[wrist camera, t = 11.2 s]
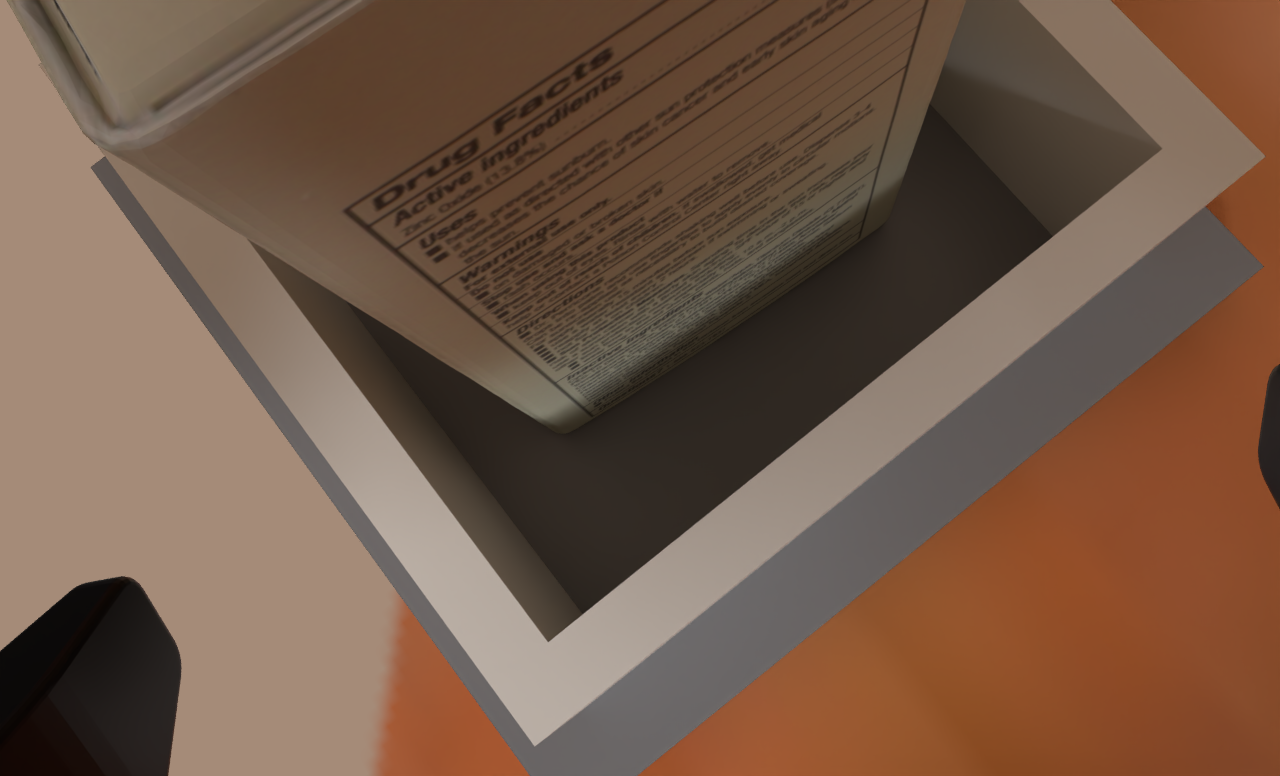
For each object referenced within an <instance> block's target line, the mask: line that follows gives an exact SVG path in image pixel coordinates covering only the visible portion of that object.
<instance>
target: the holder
mask: <svg viewBox="0 0 1280 776" xmlns="http://www.w3.org/2000/svg"><path fill="white" fill-rule="evenodd" d="M39 66H40V67H41V69H42V70H43V71H44V73H45V74H46V76H47V77H48V78H49V80H50V81H51V82H52V80H51V78H50V77H49V75H48V73H47V71H46V69H45V67H44V66H43V64H42V63H40V64H39ZM52 83H53V82H52ZM53 85H54V84H53ZM54 87H55V86H54ZM55 88H56V87H55ZM97 146H98V145H97ZM98 147H99V146H98ZM99 148H100V150H101V151H102V153H103V154H104V155H105V157H103V158H102V159H101V160H100V161H98V162H97V163H96V164H95V165H93V166H92V167H91V169H92V170H93V171H94V173H95V174H96V175H97V177H98V178H99V180H100V181H101V182H102V184H103V185H104V187H105V188H106V189H107V191H108V192H109V194H110V195H111V196H112V198H113V199H114V200H115V202H116V203H117V205H118V206H119V207H120V209H121V210H122V211H123V213H124V214H125V216H126V217H127V218H128V220H129V221H130V223H131V224H132V225H133V227H134V228H135V229H136V231H137V232H138V234H139V235H140V236H141V238H142V239H143V241H144V242H145V243H146V245H147V246H148V247H149V249H150V250H151V252H152V253H153V254H154V256H155V257H156V259H157V260H158V261H159V263H160V264H161V266H162V267H163V268H164V270H165V271H166V272H167V274H168V275H169V277H170V278H171V279H172V281H173V282H174V283H175V285H176V286H177V288H178V289H179V290H180V292H181V293H182V295H183V296H184V297H185V299H186V300H187V302H188V303H189V304H190V306H191V307H192V308H193V310H194V311H195V313H196V314H197V315H198V317H199V318H200V319H201V321H202V322H203V324H204V325H205V326H206V328H207V329H208V331H209V332H210V333H211V335H212V336H213V337H214V339H215V340H216V341H217V343H218V344H219V346H220V347H221V348H222V350H223V351H224V352H225V354H226V355H227V357H228V358H229V360H230V361H231V362H232V364H233V365H234V367H235V368H236V369H237V371H238V372H239V374H241V376H242V378H243V379H244V380H245V382H246V383H247V385H248V386H249V387H250V389H251V390H252V391H253V393H254V394H255V396H256V397H257V398H258V400H259V401H260V403H261V404H262V405H263V407H264V408H265V409H266V411H267V412H268V414H269V415H270V416H271V418H272V419H273V420H274V422H275V423H276V425H277V426H278V427H279V429H280V430H281V432H282V433H283V434H284V436H285V437H286V438H287V440H288V441H289V443H290V444H291V445H292V447H293V448H294V450H295V451H296V452H297V454H298V455H299V457H300V458H301V459H302V461H303V462H304V463H305V465H306V466H307V468H308V469H309V470H310V472H311V473H312V474H313V476H314V477H315V479H316V480H317V481H318V483H319V484H320V486H321V487H322V488H323V490H324V491H325V492H326V494H327V495H328V497H329V498H330V499H331V501H332V502H333V503H334V505H335V506H336V508H337V509H338V511H339V512H340V513H341V515H342V516H343V517H344V519H345V520H346V522H347V523H348V524H349V526H350V527H351V528H352V530H353V531H354V532H355V534H356V535H357V537H358V538H359V540H360V541H361V542H362V544H363V545H364V547H365V548H366V549H367V551H368V552H369V553H370V555H371V556H372V558H373V559H374V560H375V562H376V563H377V564H378V566H379V567H380V569H381V570H382V571H383V573H384V574H385V576H386V577H387V578H388V580H389V581H390V583H391V584H392V585H393V587H394V588H395V589H396V591H397V592H398V594H399V595H400V596H401V598H402V599H403V601H404V602H405V603H406V605H407V606H408V607H409V609H410V610H411V612H412V613H413V614H414V616H415V617H416V618H417V620H418V621H419V623H420V624H421V625H422V627H423V628H424V630H425V631H426V632H427V634H428V635H429V636H430V638H431V639H432V641H433V642H434V643H435V645H436V646H437V648H438V649H439V650H440V652H441V653H442V654H443V656H444V657H445V659H446V660H447V661H448V663H449V664H450V666H451V667H452V668H453V670H454V671H455V672H456V674H457V675H458V677H459V678H460V679H461V681H462V682H463V684H464V685H465V686H466V688H467V689H468V690H469V692H470V693H471V695H472V696H473V697H474V699H475V700H476V702H477V703H478V704H479V706H480V707H481V708H482V710H483V711H484V713H485V714H486V715H487V717H488V718H489V720H490V721H491V722H492V724H493V725H494V726H495V728H496V729H497V731H498V732H499V733H500V735H501V736H502V738H503V739H504V740H505V742H506V743H507V744H508V746H509V747H510V749H511V750H512V751H513V753H514V754H515V756H516V757H517V758H518V760H519V761H520V762H521V764H522V765H523V767H524V768H525V769H526V771H527V772H528V774H529V775H530V776H637V775H638V774H640V773H641V772H642V771H643V770H645V769H646V768H647V767H648V766H650V765H651V764H652V763H653V762H654V761H656V760H657V759H658V758H659V757H661V756H662V755H663V754H664V753H666V752H667V751H668V750H669V749H671V748H672V747H673V746H674V745H675V744H677V743H678V742H679V741H680V740H682V739H683V738H684V737H685V736H687V735H688V734H689V733H690V732H691V731H693V730H694V729H695V728H696V727H698V726H699V725H700V724H701V723H703V722H704V721H705V720H706V719H707V718H709V717H710V716H711V715H712V714H714V713H715V712H716V711H717V710H719V709H720V708H721V707H722V706H723V705H725V704H726V703H727V702H728V701H730V700H731V699H732V698H733V697H735V696H736V695H737V694H738V693H739V692H741V691H742V690H743V689H744V688H746V687H747V686H748V685H749V684H751V683H752V682H753V681H754V680H755V679H757V678H758V677H759V676H760V675H762V674H763V673H764V672H765V671H767V670H768V669H769V668H770V667H771V666H773V665H774V664H775V663H776V662H778V661H779V660H780V659H781V658H783V657H784V656H785V655H786V654H787V653H789V652H790V651H791V650H792V649H794V648H795V647H796V646H797V645H799V644H800V643H801V642H802V641H803V640H805V639H806V638H807V637H808V636H810V635H811V634H812V633H813V632H815V631H816V630H817V629H818V628H819V627H821V626H822V625H823V624H824V623H826V622H827V621H828V620H829V619H831V618H832V617H833V616H834V615H836V614H837V613H838V612H839V611H840V610H842V609H843V608H844V607H845V606H847V605H848V604H849V603H850V602H852V601H853V600H854V599H855V598H856V597H858V596H859V595H860V594H861V593H863V592H864V591H865V590H866V589H868V588H869V587H870V586H871V585H872V584H874V583H875V582H876V581H877V580H879V579H880V578H881V577H882V576H884V575H885V574H886V573H887V572H888V571H890V570H891V569H892V568H893V567H895V566H896V565H897V564H898V563H900V562H901V561H902V560H903V559H904V558H906V557H907V556H908V555H909V554H911V553H912V552H913V551H914V550H916V549H917V548H918V547H919V546H920V545H922V544H923V543H924V542H925V541H927V540H928V539H929V538H930V537H932V536H933V535H934V534H935V533H936V532H938V531H939V530H940V529H941V528H943V527H944V526H945V525H946V524H948V523H949V522H950V521H951V520H952V519H954V518H955V517H956V516H957V515H959V514H960V513H961V512H962V511H964V510H965V509H966V508H967V507H968V506H970V505H971V504H972V503H973V502H975V501H976V500H977V499H978V498H980V497H981V496H982V495H983V494H985V493H986V492H987V491H988V490H989V489H991V488H992V487H993V486H994V485H996V484H997V483H998V482H999V481H1001V480H1002V479H1003V478H1004V477H1005V476H1007V475H1008V474H1009V473H1010V472H1012V471H1013V470H1014V469H1015V468H1017V467H1018V466H1019V465H1020V464H1021V463H1023V462H1024V461H1025V460H1026V459H1028V458H1029V457H1030V456H1031V455H1033V454H1034V453H1035V452H1036V451H1037V450H1039V449H1040V448H1041V447H1042V446H1044V445H1045V444H1046V443H1047V442H1049V441H1050V440H1051V439H1052V438H1053V437H1055V436H1056V435H1057V434H1058V433H1060V432H1061V431H1062V430H1063V429H1065V428H1066V427H1067V426H1068V425H1069V424H1071V423H1072V422H1073V421H1074V420H1076V419H1077V418H1078V417H1079V416H1081V415H1082V414H1083V413H1084V412H1085V411H1087V410H1088V409H1089V408H1090V407H1092V406H1093V405H1094V404H1095V403H1097V402H1098V401H1099V400H1100V399H1101V398H1103V397H1104V396H1105V395H1106V394H1108V393H1109V392H1110V391H1111V390H1113V389H1114V388H1115V387H1116V386H1117V385H1119V384H1120V383H1121V382H1122V381H1124V380H1125V379H1126V378H1127V377H1129V376H1130V375H1131V374H1132V373H1134V372H1135V371H1136V370H1137V369H1138V368H1140V367H1141V366H1142V365H1143V364H1145V363H1146V362H1147V361H1148V360H1150V359H1151V358H1152V357H1153V356H1154V355H1156V354H1157V353H1158V352H1159V351H1161V350H1162V349H1163V348H1164V347H1166V346H1167V345H1168V344H1169V343H1170V342H1172V341H1173V340H1174V339H1175V338H1177V337H1178V336H1179V335H1180V334H1182V333H1183V332H1184V331H1185V330H1186V329H1188V328H1189V327H1190V326H1191V325H1193V324H1194V323H1195V322H1196V321H1198V320H1199V319H1200V318H1201V317H1202V316H1204V315H1205V314H1206V313H1207V312H1209V311H1210V310H1211V309H1212V308H1214V307H1215V306H1216V305H1217V304H1218V303H1220V302H1221V301H1222V300H1223V299H1225V298H1226V297H1227V296H1228V295H1230V294H1231V293H1232V292H1233V291H1234V290H1236V289H1237V288H1238V287H1239V286H1241V285H1242V284H1243V283H1244V282H1246V281H1247V280H1248V279H1249V278H1250V277H1252V276H1253V275H1254V274H1255V273H1257V272H1258V271H1259V270H1260V269H1262V268H1263V267H1264V266H1263V265H1262V264H1261V263H1260V262H1259V261H1258V260H1257V259H1256V258H1255V257H1254V256H1253V255H1252V254H1251V253H1250V252H1249V251H1248V250H1247V249H1246V248H1245V247H1244V246H1243V245H1242V244H1241V243H1240V242H1239V241H1238V240H1237V238H1236V237H1235V236H1234V235H1233V234H1232V233H1231V232H1230V231H1229V230H1228V229H1227V228H1226V227H1225V226H1224V225H1223V224H1222V223H1221V222H1220V221H1219V220H1218V219H1217V218H1216V217H1215V216H1214V215H1213V214H1212V213H1211V212H1210V211H1209V210H1208V209H1207V208H1206V207H1205V206H1206V205H1207V204H1209V203H1210V202H1211V201H1212V200H1213V199H1215V198H1216V197H1217V196H1218V195H1219V194H1221V193H1222V192H1223V191H1224V190H1226V189H1227V188H1228V187H1229V186H1230V185H1232V184H1233V183H1234V182H1235V181H1236V180H1238V179H1239V178H1240V177H1241V176H1243V175H1244V174H1245V173H1246V172H1247V171H1249V170H1250V169H1251V168H1252V167H1254V166H1255V165H1256V164H1257V163H1258V162H1260V161H1261V160H1262V159H1263V158H1264V157H1266V156H1265V155H1264V154H1263V153H1262V152H1261V151H1260V150H1259V149H1258V148H1257V147H1256V146H1255V145H1254V144H1253V143H1252V142H1251V141H1250V140H1249V139H1248V138H1247V137H1246V136H1245V135H1244V134H1243V133H1242V132H1241V131H1240V130H1239V129H1238V128H1237V127H1236V126H1235V125H1234V124H1233V123H1232V122H1231V121H1230V120H1229V119H1228V118H1227V117H1226V116H1225V115H1224V114H1223V113H1222V112H1221V111H1220V110H1219V109H1218V108H1217V107H1216V106H1215V105H1214V104H1213V103H1212V102H1211V101H1210V100H1209V99H1208V98H1207V97H1206V96H1205V95H1204V94H1203V93H1202V92H1201V91H1200V90H1199V89H1198V88H1197V87H1196V86H1195V85H1194V84H1193V83H1192V82H1191V81H1190V80H1189V79H1188V78H1187V77H1186V76H1185V75H1184V74H1183V73H1182V72H1181V71H1180V70H1179V69H1178V68H1177V67H1176V66H1175V65H1174V64H1173V63H1172V62H1171V61H1170V60H1169V59H1168V58H1167V57H1166V56H1165V55H1164V54H1163V53H1162V52H1161V51H1160V50H1159V49H1158V48H1157V47H1156V46H1155V45H1154V44H1153V43H1152V42H1151V41H1150V40H1149V39H1148V37H1147V36H1146V35H1145V34H1144V33H1143V32H1142V31H1141V30H1140V29H1139V28H1138V27H1137V26H1136V25H1135V24H1134V23H1133V22H1132V21H1131V20H1130V19H1129V18H1128V17H1127V16H1126V15H1125V14H1124V13H1123V12H1122V11H1121V10H1120V9H1119V8H1118V7H1117V6H1116V5H1115V4H1114V3H1113V2H1112V1H1111V0H966V2H965V5H964V8H963V11H962V13H961V16H960V19H959V22H958V25H957V28H956V31H955V33H954V36H953V38H952V41H951V43H950V47H949V50H948V54H947V56H946V59H945V62H944V64H943V67H942V70H941V73H940V76H939V79H938V82H937V85H936V88H935V90H934V93H933V96H932V98H931V101H930V103H929V106H928V109H927V112H926V115H925V118H924V121H923V124H922V127H921V129H920V132H919V135H918V138H917V140H916V143H915V146H914V149H913V152H912V155H911V158H910V160H909V162H908V166H907V169H906V172H905V175H904V178H903V181H902V184H901V187H900V189H899V191H898V194H897V197H896V200H895V203H894V206H893V209H892V211H891V214H890V217H889V218H888V220H887V221H886V222H885V223H884V224H883V225H881V226H880V227H879V228H878V229H876V230H875V231H873V232H872V233H871V234H869V235H868V236H866V237H865V238H863V239H862V240H861V241H859V242H858V243H856V244H855V245H854V246H852V247H851V248H850V249H848V250H847V251H845V252H844V253H843V254H841V255H840V256H839V257H837V258H836V259H834V260H833V261H832V262H830V263H829V264H827V265H826V266H824V267H823V268H822V269H820V270H819V271H817V272H816V273H815V274H813V275H812V276H810V277H809V278H807V279H806V280H805V281H803V282H802V283H800V284H799V285H797V286H796V287H794V288H793V289H791V290H790V291H789V292H787V293H786V294H784V295H783V296H781V297H780V298H778V299H777V300H775V301H774V302H773V303H771V304H770V305H768V306H767V307H765V308H764V309H762V310H761V311H759V312H758V313H756V314H755V315H753V316H752V317H750V318H749V319H747V320H746V321H744V322H743V323H741V324H740V325H738V326H737V327H735V328H734V329H732V330H731V331H729V332H728V333H726V334H725V335H723V336H722V337H720V338H719V339H717V340H716V341H715V342H713V343H712V344H710V345H709V346H707V347H706V348H704V349H703V350H701V351H700V352H698V353H696V354H695V355H693V356H692V357H690V358H689V359H687V360H686V361H684V362H683V363H681V364H680V365H678V366H676V367H675V368H673V369H672V370H670V371H669V372H667V373H665V374H664V375H662V376H660V377H659V378H657V379H656V380H654V381H653V382H651V383H650V384H648V385H647V386H645V387H643V388H642V389H640V390H639V391H637V392H636V393H634V394H633V395H631V396H629V397H628V398H626V399H625V400H623V401H621V402H620V403H618V404H616V405H615V406H613V407H612V408H610V409H608V410H607V411H605V412H603V413H602V414H600V415H598V416H597V417H595V418H593V419H592V420H590V421H589V422H587V423H585V424H584V425H582V426H580V427H579V428H577V429H575V430H573V431H571V432H569V433H566V434H560V433H556V432H554V431H552V430H551V429H549V428H548V427H546V426H544V425H543V424H541V423H539V422H538V421H536V420H535V419H533V418H532V417H530V416H529V415H527V414H526V413H524V412H522V411H521V410H519V409H517V408H516V407H514V406H512V405H511V404H509V403H508V402H506V401H505V400H503V399H502V398H500V397H499V396H497V395H495V394H494V393H492V392H491V391H489V390H487V389H486V388H484V387H483V386H481V385H480V384H478V383H476V382H475V381H473V380H472V379H470V378H469V377H467V376H465V375H464V374H462V373H460V372H459V371H457V370H455V369H454V368H452V367H450V366H449V365H447V364H445V363H444V362H442V361H441V360H439V359H437V358H436V357H434V356H433V355H431V354H430V353H428V352H427V351H425V350H424V349H422V348H420V347H419V346H417V345H416V344H414V343H413V342H411V341H409V340H408V339H406V338H405V337H404V336H402V335H401V334H399V333H398V332H396V331H394V330H393V329H391V328H389V327H388V326H386V325H384V324H383V323H381V322H380V321H378V320H376V319H375V318H373V317H371V316H370V315H368V314H367V313H365V312H363V311H362V310H360V309H358V308H357V307H355V306H354V305H352V304H350V303H349V302H347V301H346V300H344V299H342V298H341V297H339V296H338V295H336V294H334V293H333V292H331V291H330V290H328V289H327V288H325V287H323V286H322V285H320V284H319V283H317V282H315V281H314V280H312V279H311V278H309V277H307V276H306V275H304V274H303V273H301V272H299V271H298V270H296V269H295V268H293V267H291V266H290V265H288V264H287V263H285V262H284V261H282V260H281V259H279V258H277V257H276V256H274V255H273V254H271V253H270V252H268V251H267V250H265V249H263V248H262V247H260V246H259V245H257V244H255V243H254V242H252V241H250V240H249V239H247V238H246V237H244V236H242V235H241V234H239V233H237V232H236V231H234V230H233V229H231V228H229V227H228V226H226V225H225V224H223V223H221V222H220V221H218V220H217V219H215V218H214V217H212V216H210V215H209V214H207V213H206V212H204V211H203V210H201V209H199V208H198V207H196V206H195V205H193V204H192V203H190V202H188V201H187V200H185V199H184V198H182V197H180V196H179V195H177V194H176V193H174V192H172V191H171V190H169V189H168V188H166V187H165V186H163V185H161V184H160V183H158V182H157V181H155V180H154V179H152V178H150V177H149V176H147V175H146V174H144V173H143V172H141V171H140V170H138V169H136V168H135V167H133V166H132V165H130V164H128V163H127V162H125V161H123V160H121V159H120V158H118V157H116V156H115V155H113V154H111V153H110V152H108V151H106V150H104V149H103V148H101V147H99Z"/></svg>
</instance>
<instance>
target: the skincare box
mask: <svg viewBox="0 0 1280 776" xmlns="http://www.w3.org/2000/svg"><path fill="white" fill-rule="evenodd" d="M7 2H8V3H9V5H10V7H11V8H12V10H13V12H14V14H15V16H16V17H17V19H18V21H19V23H20V24H21V26H22V28H23V30H24V31H25V33H26V35H27V37H28V38H29V40H30V42H31V44H32V46H33V48H34V49H35V51H36V53H37V55H38V56H39V58H40V60H41V62H42V64H43V66H44V67H45V69H46V71H47V73H48V75H49V77H50V78H51V80H52V82H53V84H54V86H55V87H56V89H57V91H58V93H59V95H60V96H61V98H62V100H63V102H64V103H65V105H66V106H67V108H68V109H69V111H70V113H71V114H72V116H73V117H74V119H75V121H76V122H77V124H78V125H79V127H80V129H81V130H82V132H83V133H84V134H85V135H86V136H87V137H88V138H89V139H90V140H91V141H92V142H93V143H94V144H96V145H98V146H99V147H101V148H103V149H104V150H106V151H108V152H110V153H111V154H113V155H115V156H116V157H118V158H120V159H121V160H123V161H125V162H127V163H128V164H130V165H132V166H133V167H135V168H136V169H138V170H140V171H141V172H143V173H144V174H146V175H147V176H149V177H150V178H152V179H154V180H155V181H157V182H158V183H160V184H161V185H163V186H165V187H166V188H168V189H169V190H171V191H172V192H174V193H176V194H177V195H179V196H180V197H182V198H184V199H185V200H187V201H188V202H190V203H192V204H193V205H195V206H196V207H198V208H199V209H201V210H203V211H204V212H206V213H207V214H209V215H210V216H212V217H214V218H215V219H217V220H218V221H220V222H221V223H223V224H225V225H226V226H228V227H229V228H231V229H233V230H234V231H236V232H237V233H239V234H241V235H242V236H244V237H246V238H247V239H249V240H250V241H252V242H254V243H255V244H257V245H259V246H260V247H262V248H263V249H265V250H267V251H268V252H270V253H271V254H273V255H274V256H276V257H277V258H279V259H281V260H282V261H284V262H285V263H287V264H288V265H290V266H291V267H293V268H295V269H296V270H298V271H299V272H301V273H303V274H304V275H306V276H307V277H309V278H311V279H312V280H314V281H315V282H317V283H319V284H320V285H322V286H323V287H325V288H327V289H328V290H330V291H331V292H333V293H334V294H336V295H338V296H339V297H341V298H342V299H344V300H346V301H347V302H349V303H350V304H352V305H354V306H355V307H357V308H358V309H360V310H362V311H363V312H365V313H367V314H368V315H370V316H371V317H373V318H375V319H376V320H378V321H380V322H381V323H383V324H384V325H386V326H388V327H389V328H391V329H393V330H394V331H396V332H398V333H399V334H401V335H402V336H404V337H405V338H406V339H408V340H409V341H411V342H413V343H414V344H416V345H417V346H419V347H420V348H422V349H424V350H425V351H427V352H428V353H430V354H431V355H433V356H434V357H436V358H437V359H439V360H441V361H442V362H444V363H445V364H447V365H449V366H450V367H452V368H454V369H455V370H457V371H459V372H460V373H462V374H464V375H465V376H467V377H469V378H470V379H472V380H473V381H475V382H476V383H478V384H480V385H481V386H483V387H484V388H486V389H487V390H489V391H491V392H492V393H494V394H495V395H497V396H499V397H500V398H502V399H503V400H505V401H506V402H508V403H509V404H511V405H512V406H514V407H516V408H517V409H519V410H521V411H522V412H524V413H526V414H527V415H529V416H530V417H532V418H533V419H535V420H536V421H538V422H539V423H541V424H543V425H544V426H546V427H548V428H549V429H551V430H552V431H554V432H556V433H560V434H566V433H569V432H571V431H573V430H575V429H577V428H579V427H580V426H582V425H584V424H585V423H587V422H589V421H590V420H592V419H593V418H595V417H597V416H598V415H600V414H602V413H603V412H605V411H607V410H608V409H610V408H612V407H613V406H615V405H616V404H618V403H620V402H621V401H623V400H625V399H626V398H628V397H629V396H631V395H633V394H634V393H636V392H637V391H639V390H640V389H642V388H643V387H645V386H647V385H648V384H650V383H651V382H653V381H654V380H656V379H657V378H659V377H660V376H662V375H664V374H665V373H667V372H669V371H670V370H672V369H673V368H675V367H676V366H678V365H680V364H681V363H683V362H684V361H686V360H687V359H689V358H690V357H692V356H693V355H695V354H696V353H698V352H700V351H701V350H703V349H704V348H706V347H707V346H709V345H710V344H712V343H713V342H715V341H716V340H717V339H719V338H720V337H722V336H723V335H725V334H726V333H728V332H729V331H731V330H732V329H734V328H735V327H737V326H738V325H740V324H741V323H743V322H744V321H746V320H747V319H749V318H750V317H752V316H753V315H755V314H756V313H758V312H759V311H761V310H762V309H764V308H765V307H767V306H768V305H770V304H771V303H773V302H774V301H775V300H777V299H778V298H780V297H781V296H783V295H784V294H786V293H787V292H789V291H790V290H791V289H793V288H794V287H796V286H797V285H799V284H800V283H802V282H803V281H805V280H806V279H807V278H809V277H810V276H812V275H813V274H815V273H816V272H817V271H819V270H820V269H822V268H823V267H824V266H826V265H827V264H829V263H830V262H832V261H833V260H834V259H836V258H837V257H839V256H840V255H841V254H843V253H844V252H845V251H847V250H848V249H850V248H851V247H852V246H854V245H855V244H856V243H858V242H859V241H861V240H862V239H863V238H865V237H866V236H868V235H869V234H871V233H872V232H873V231H875V230H876V229H878V228H879V227H880V226H881V225H883V224H884V223H885V222H886V221H887V220H888V218H889V217H890V214H891V211H892V209H893V206H894V203H895V200H896V197H897V194H898V191H899V189H900V187H901V184H902V181H903V178H904V175H905V172H906V169H907V166H908V162H909V160H910V158H911V155H912V152H913V149H914V146H915V143H916V140H917V138H918V135H919V132H920V129H921V127H922V124H923V121H924V118H925V115H926V112H927V109H928V106H929V103H930V101H931V98H932V96H933V93H934V90H935V88H936V85H937V82H938V79H939V76H940V73H941V70H942V67H943V64H944V62H945V59H946V56H947V54H948V50H949V47H950V43H951V41H952V38H953V36H954V33H955V31H956V28H957V25H958V22H959V19H960V16H961V13H962V11H963V8H964V5H965V2H966V0H7Z"/></svg>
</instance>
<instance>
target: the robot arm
mask: <svg viewBox="0 0 1280 776" xmlns="http://www.w3.org/2000/svg"><path fill="white" fill-rule="evenodd" d="M1258 457H1259V464H1260V469H1261V472H1262V475H1263V478H1264V480H1265V482H1266V484H1267V486H1268V488H1269V490H1270V492H1271V494H1272V496H1273V497H1274V499H1275V501H1276V503H1277V505H1278V507H1279V509H1280V364H1279V365H1278V366H1276V367H1275V368H1274V369H1273V371H1272V373H1271V374H1270V377H1269V380H1268V384H1267V391H1266V398H1265V405H1264V411H1263V418H1262V425H1261V432H1260V439H1259V445H1258ZM180 680H181V659H180V654H179V650H178V647H177V645H176V643H175V641H174V639H173V637H172V636H171V634H170V632H169V631H168V629H167V627H166V626H165V624H164V622H163V621H162V619H161V617H160V616H159V615H158V613H157V611H156V609H155V608H154V606H153V604H152V603H151V601H150V599H149V598H148V596H147V594H146V593H145V591H144V590H143V588H142V587H141V585H140V584H139V583H138V582H136V581H135V580H134V579H132V578H130V577H123V576H121V577H115V578H110V579H104V580H99V581H93V582H88V583H84V584H81V585H79V586H77V587H75V588H74V589H73V590H71V591H70V592H69V593H68V594H66V595H65V596H64V597H63V598H62V599H61V600H59V601H58V602H57V603H56V604H55V605H54V606H52V607H51V608H50V609H49V610H48V611H46V612H45V613H44V614H43V615H42V616H41V617H39V618H38V619H37V620H36V621H35V622H34V623H32V624H31V625H30V626H29V627H28V628H27V629H25V630H24V631H23V632H22V633H21V634H20V635H18V636H17V637H16V638H15V639H14V640H13V641H11V642H10V643H9V644H8V645H7V646H6V647H4V649H2V650H1V651H0V776H168V772H169V765H170V757H171V749H172V741H173V734H174V726H175V719H176V711H177V703H178V695H179V687H180Z"/></svg>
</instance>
